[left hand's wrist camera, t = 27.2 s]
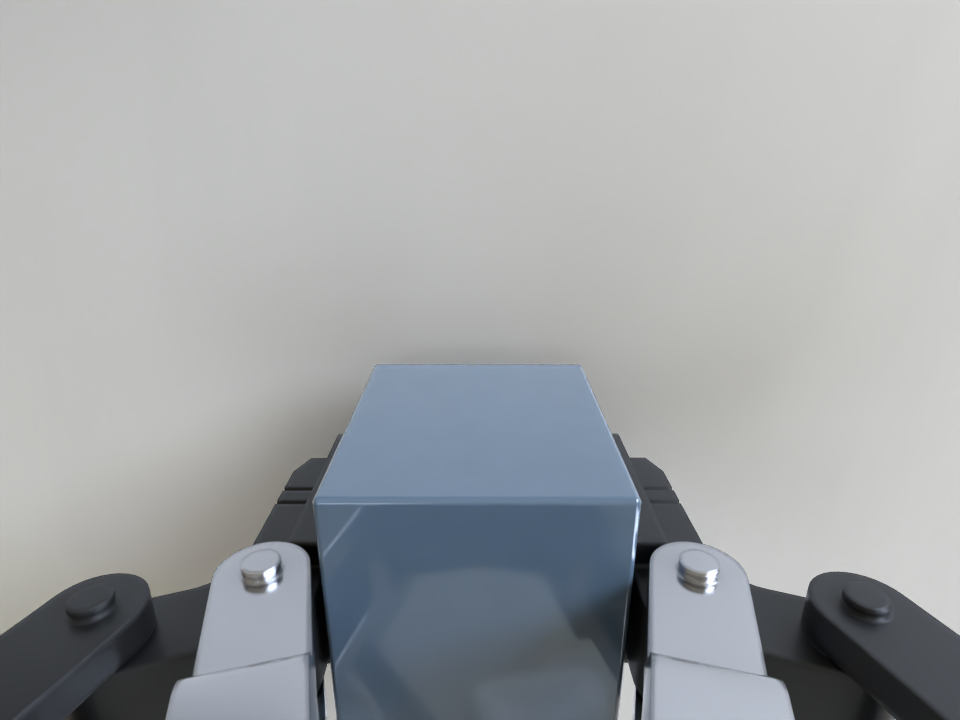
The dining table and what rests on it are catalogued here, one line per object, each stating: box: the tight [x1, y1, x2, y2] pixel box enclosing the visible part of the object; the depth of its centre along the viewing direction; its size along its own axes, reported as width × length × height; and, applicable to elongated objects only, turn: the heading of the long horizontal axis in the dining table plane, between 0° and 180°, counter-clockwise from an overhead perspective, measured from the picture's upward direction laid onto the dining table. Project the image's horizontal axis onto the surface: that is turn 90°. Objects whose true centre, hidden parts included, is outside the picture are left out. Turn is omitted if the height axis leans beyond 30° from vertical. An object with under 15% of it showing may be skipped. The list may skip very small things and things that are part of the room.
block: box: [312, 365, 641, 720], centre depth 10 cm, size 5×4×5 cm
